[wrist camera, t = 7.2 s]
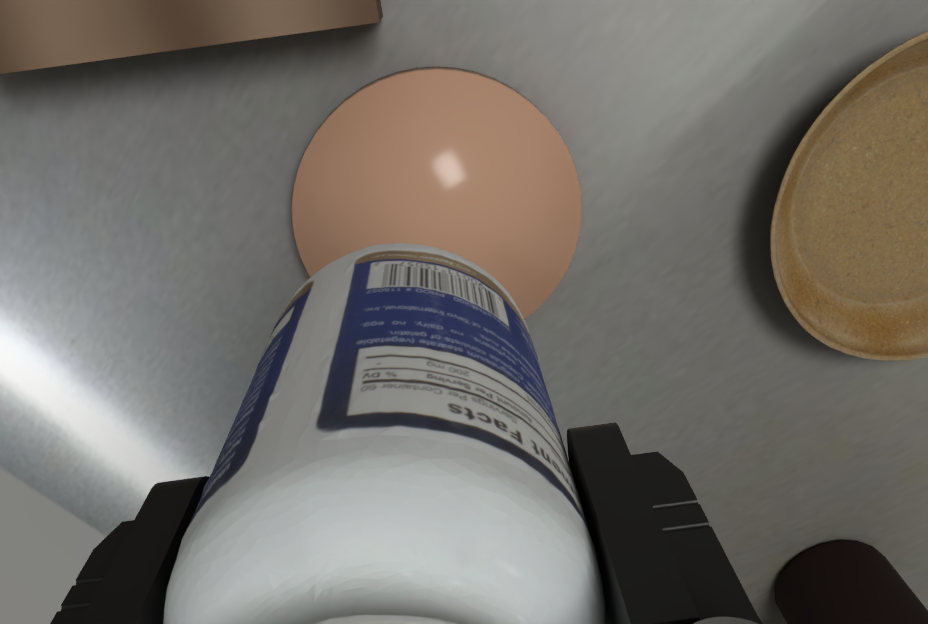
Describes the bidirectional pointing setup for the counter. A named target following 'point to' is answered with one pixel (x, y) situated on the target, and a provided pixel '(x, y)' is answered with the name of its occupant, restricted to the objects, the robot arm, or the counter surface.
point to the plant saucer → (861, 214)
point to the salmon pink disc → (442, 179)
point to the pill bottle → (392, 464)
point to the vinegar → (846, 588)
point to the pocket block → (156, 26)
